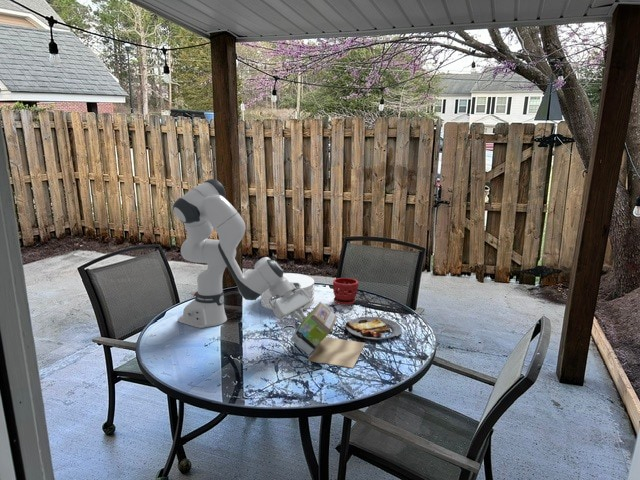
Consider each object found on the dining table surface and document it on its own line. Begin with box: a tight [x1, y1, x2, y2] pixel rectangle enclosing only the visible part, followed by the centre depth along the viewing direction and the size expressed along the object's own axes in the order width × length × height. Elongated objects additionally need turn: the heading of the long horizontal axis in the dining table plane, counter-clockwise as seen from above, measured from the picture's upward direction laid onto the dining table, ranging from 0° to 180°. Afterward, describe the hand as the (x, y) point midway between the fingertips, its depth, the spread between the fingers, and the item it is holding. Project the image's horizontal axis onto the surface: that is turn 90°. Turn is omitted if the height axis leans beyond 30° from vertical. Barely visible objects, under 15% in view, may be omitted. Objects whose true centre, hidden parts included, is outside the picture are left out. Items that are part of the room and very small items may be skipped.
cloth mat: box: [307, 336, 366, 369], centre depth 177 cm, size 18×22×1 cm
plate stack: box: [260, 272, 315, 311], centre depth 232 cm, size 28×28×12 cm
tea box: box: [290, 301, 338, 355], centre depth 179 cm, size 15×10×15 cm
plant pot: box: [332, 277, 359, 306], centre depth 231 cm, size 13×13×12 cm
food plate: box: [345, 315, 403, 341], centre depth 197 cm, size 25×23×4 cm
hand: (303, 319), depth 177 cm, fingers closed
